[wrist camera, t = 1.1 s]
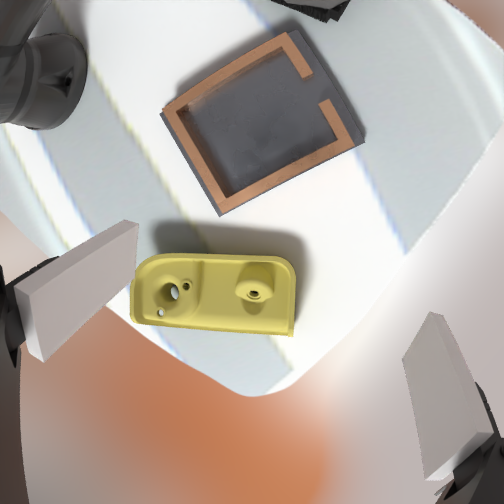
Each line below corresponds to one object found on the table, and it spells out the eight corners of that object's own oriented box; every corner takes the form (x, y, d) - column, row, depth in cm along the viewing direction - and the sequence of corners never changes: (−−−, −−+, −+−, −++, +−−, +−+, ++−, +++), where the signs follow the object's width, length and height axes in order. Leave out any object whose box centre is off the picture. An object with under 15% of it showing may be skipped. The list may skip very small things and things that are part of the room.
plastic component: (296, 256, 35) (292, 347, 34) (296, 260, 42) (293, 335, 41) (131, 251, 38) (129, 331, 37) (156, 255, 45) (153, 324, 44)
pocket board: (164, 114, 34) (151, 113, 32) (297, 32, 28) (295, 23, 25) (222, 214, 37) (214, 221, 35) (363, 141, 31) (367, 142, 28)
